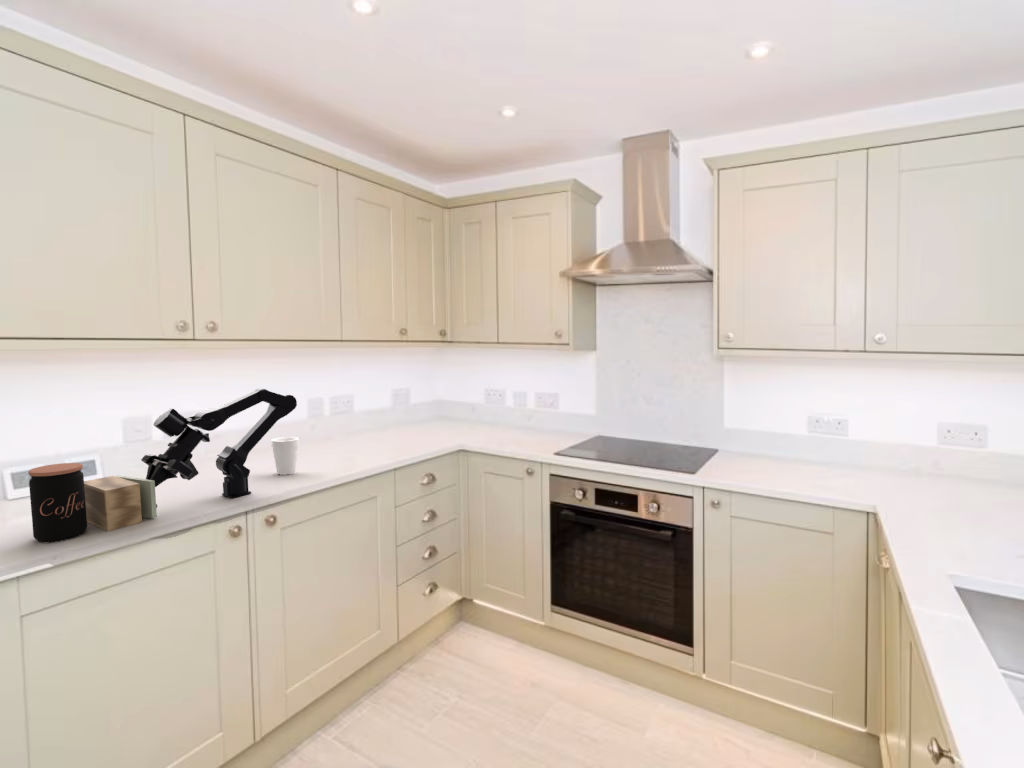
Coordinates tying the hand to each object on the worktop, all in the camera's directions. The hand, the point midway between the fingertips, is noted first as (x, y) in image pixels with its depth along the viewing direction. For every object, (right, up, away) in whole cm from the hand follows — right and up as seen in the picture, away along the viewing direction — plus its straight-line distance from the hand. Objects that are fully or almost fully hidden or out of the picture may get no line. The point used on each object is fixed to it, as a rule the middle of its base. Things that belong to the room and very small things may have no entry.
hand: (145, 490), depth 152 cm
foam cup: (+19, -3, +49) cm, 53 cm away
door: (-4, -7, +2) cm, 8 cm away
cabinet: (-7, -8, -4) cm, 11 cm away
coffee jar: (-12, -9, -15) cm, 21 cm away
